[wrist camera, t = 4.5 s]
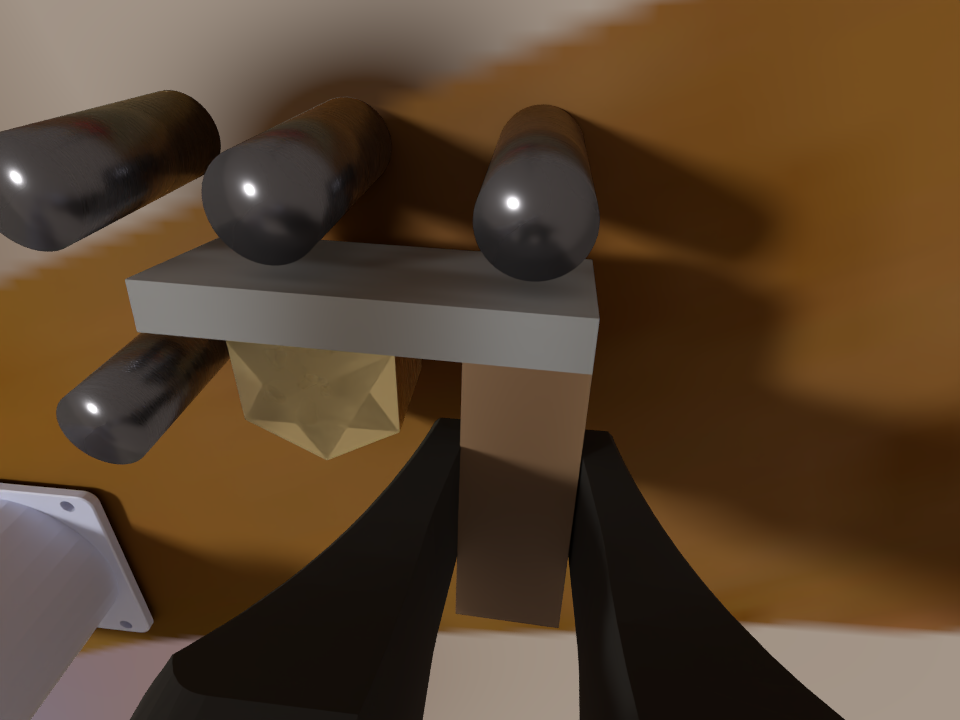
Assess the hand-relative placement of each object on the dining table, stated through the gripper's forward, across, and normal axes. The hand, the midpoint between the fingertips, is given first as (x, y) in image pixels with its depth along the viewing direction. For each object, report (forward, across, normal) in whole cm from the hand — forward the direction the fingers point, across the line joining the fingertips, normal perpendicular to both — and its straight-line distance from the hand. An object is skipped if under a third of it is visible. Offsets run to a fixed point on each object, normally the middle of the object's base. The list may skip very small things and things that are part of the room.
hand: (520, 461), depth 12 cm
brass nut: (+5, +5, 0) cm, 7 cm away
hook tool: (+2, +3, 0) cm, 4 cm away
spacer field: (+5, +5, -3) cm, 7 cm away
